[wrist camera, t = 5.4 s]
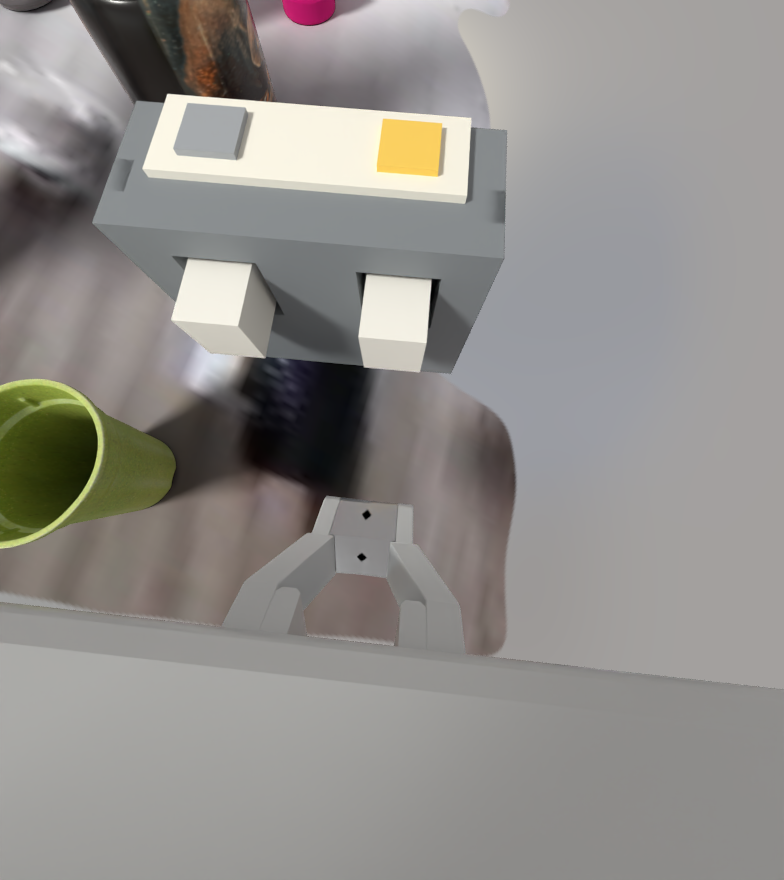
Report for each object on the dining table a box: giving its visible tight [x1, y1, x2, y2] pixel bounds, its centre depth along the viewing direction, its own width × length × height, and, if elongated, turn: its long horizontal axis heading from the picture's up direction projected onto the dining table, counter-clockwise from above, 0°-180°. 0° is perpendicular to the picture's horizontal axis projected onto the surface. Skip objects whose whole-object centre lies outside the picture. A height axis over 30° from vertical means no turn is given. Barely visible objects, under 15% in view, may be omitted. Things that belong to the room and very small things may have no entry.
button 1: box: [171, 257, 277, 358], centre depth 18 cm, size 5×4×4 cm
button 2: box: [358, 273, 432, 372], centre depth 18 cm, size 5×4×4 cm
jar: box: [69, 0, 277, 106], centre depth 25 cm, size 12×12×15 cm
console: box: [92, 94, 507, 373], centre depth 21 cm, size 8×20×14 cm, turn 84°
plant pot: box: [0, 379, 176, 548], centre depth 21 cm, size 9×9×9 cm
